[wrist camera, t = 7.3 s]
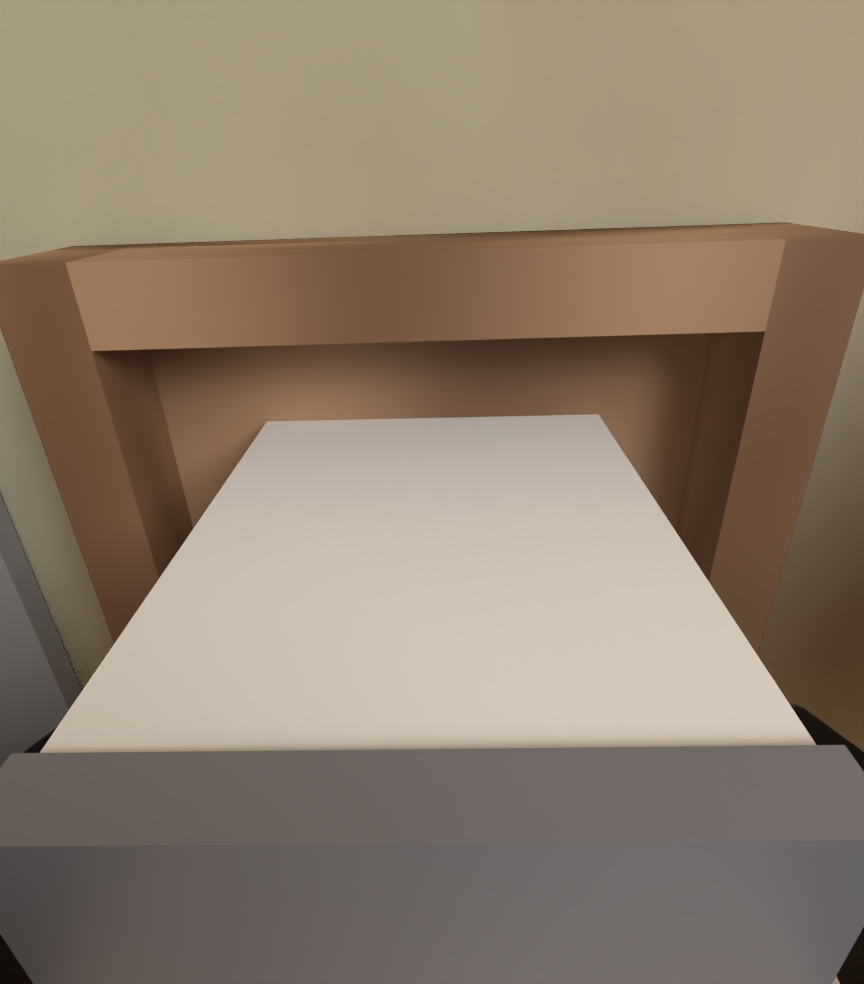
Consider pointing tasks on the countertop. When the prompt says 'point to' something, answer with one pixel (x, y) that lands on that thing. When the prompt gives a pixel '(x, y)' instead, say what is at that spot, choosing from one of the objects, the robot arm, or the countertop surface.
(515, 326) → the walnut tray
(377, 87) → the countertop surface
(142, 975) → the grey-fronted drawer box
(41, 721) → the grey drawer cabinet
